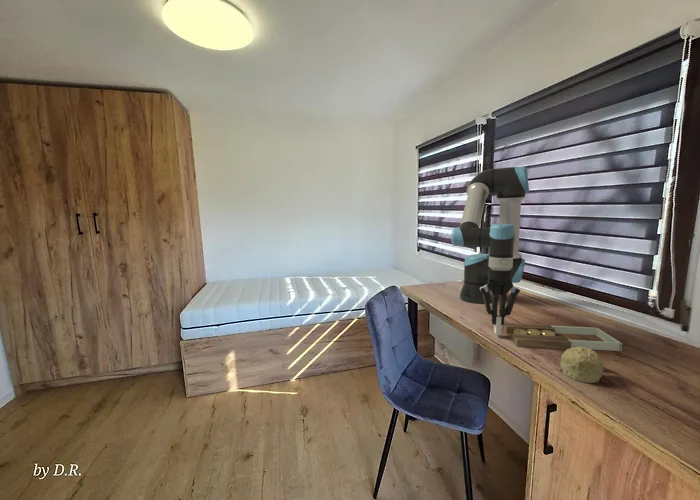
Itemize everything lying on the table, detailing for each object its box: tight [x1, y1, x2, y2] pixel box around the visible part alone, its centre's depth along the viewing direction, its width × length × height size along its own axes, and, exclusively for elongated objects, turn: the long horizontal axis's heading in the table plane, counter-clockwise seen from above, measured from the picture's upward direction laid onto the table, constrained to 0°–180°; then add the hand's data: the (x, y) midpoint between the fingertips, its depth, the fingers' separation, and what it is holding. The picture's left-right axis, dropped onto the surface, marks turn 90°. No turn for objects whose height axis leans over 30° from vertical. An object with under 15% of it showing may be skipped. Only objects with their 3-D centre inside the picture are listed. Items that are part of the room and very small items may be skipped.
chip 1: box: [514, 329, 527, 335], centre depth 104 cm, size 4×4×2 cm
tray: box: [551, 325, 623, 352], centre depth 101 cm, size 13×15×4 cm
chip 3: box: [541, 330, 556, 336], centre depth 103 cm, size 4×4×2 cm
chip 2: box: [527, 329, 541, 335], centre depth 104 cm, size 4×4×2 cm
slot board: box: [501, 321, 571, 351], centre depth 104 cm, size 15×16×4 cm
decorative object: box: [560, 346, 604, 384], centre depth 83 cm, size 9×10×10 cm
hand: (497, 333), depth 106 cm, fingers closed
